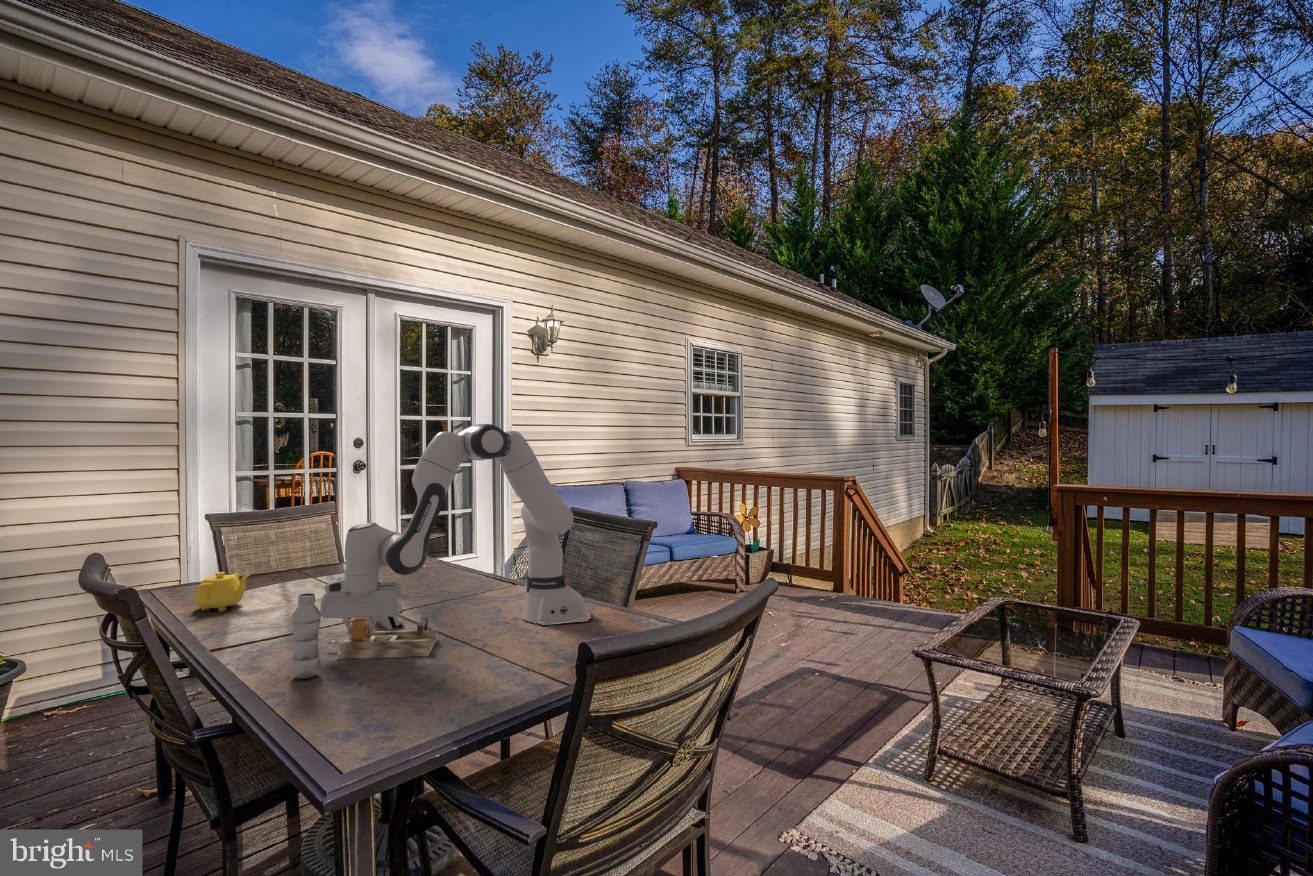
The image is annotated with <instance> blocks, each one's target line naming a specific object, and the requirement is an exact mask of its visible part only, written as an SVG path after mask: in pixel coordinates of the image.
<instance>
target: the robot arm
mask: <svg viewBox="0 0 1313 876" xmlns="http://www.w3.org/2000/svg"><path fill="white" fill-rule="evenodd" d="M494 459H495V460H497V461H498V464H500V467H501V468H502V470H503V473H504V475H505V477H506V478H507V480H508V482H509V484H510V486H511V487H512V491H513V492H514V493H515V495H516V497H518V498H519V499H520V501H521V502H522V503H523V505H522V507H521V511H520V516H521V520H522V521H523V524H524V531H525V538H526V544H527V553H528V555H527V557H528V558H527V560H528V562H527V563H528V564H527V574H526V578H525V579H526V581H525V591H526V598H525V605H524V609H523V613H522V616H521V618H523V619H524V620H527V621H529V622H528V623H530V622H537V623H539V624H552V623H558V622H567V621H571V620H574V619H579V618H581V617H585V615H586V611H585V609H586V604H585V601H584V600H585V599H584V597H583V596H582V595H581V594H580V593H579V592H577V591H576V590H575V589H574V588H572V587H571V586H570V585H569V584H570V583H571V578H570V577H569V576H568V575H567V574H564V573H563V559H564V558H563V553H564V552H563V548H562V546H561V542H560V539H559V535H562V534H564V533H566V532H568V531H569V530H570V529H571V527H572V525H573V523H574V513H573V511H572V510H571V508H570V507H569V506H568V505H567V503H565V501H564V500H563V499H562V497H561V495H560V494H559V492H557V490H556V488H555V487H554V486H553V484H552V483H551V482H550V480H549V479H548V477H547V476H546V474H545V472H544V469H543V468H542V466H541V464H540V462H539V460H538V458H537V456H536V454H535V452H534V450H533V449H532V447H531V446H530V444H529V442H528V441H527V440H526V438H525V437H524V436H523V435H522V433H520V432H519V431H516V430H509V431H504V430H502V429H501V428H500V427H499V426H497V425H495V424H491V423H484V424H483V423H476V424H472V425H469V426H466V427H464V428H462V429H460V430H459V431H458V432H452V431H447V430H446V431H440V432H438V433H436V435H434V436H433V438H432V439H431V440H430V442H429V443H428V445H427V447H426V448H425V449H424V451H422V454H421V456H420V458H419V459H418V462H417V464H416V466H415V468H414V471H413V474H412V478H411V484H412V486H413V489H414V490H415V493H416V497H417V504H416V507H415V510H414V512H413V513H412V517H411V519H410V521H409V523H408V525H407V529H406V530H405V531H404V532H403V533H401V532H398V531H393V530H390V529H388V528H385V527H383V526H381V525H380V524H378V523H377V522H372V521H371V522H362V523H359V524H356V525H352V526H351V527H350V528H349V529H348V531H347V532H346V536H345V543H344V544H345V545H344V560H345V568H344V571H343V572H344V575H343V576H342V577H338V578H334V579H333V580H331V581H329V582H328V583H326V584H325V586H324V592H325V593H324V594H323V596H322V597H321V602H320V609H319V611H320V614H321V618H322V619H342V620H343V621H342V622H343V624H344V625H345V627H346V628H347V634H348V635H350V634H352V622H351V620H352V619H353V618H354V619H356V618H362V617H370V618H371V617H372V618H371V622H372V623H371V624H370V625H369V627H367V630H368V631H367V633H374V631H376V630H375V629H376V625H377V623H378V622H377V621H378V620H379V617H395V616H397V617H398V615H399V614H400V613H401V612H402V601H401V596H402V594H403V593H402V591H403V588H402V585H400V583H397V582H395V581H391V582H386V581H381V582H380V575H381V574H380V573H381V572H380V569H381V568H382V567H387V568H389V569H391V570H392V571H393V572H394V573H395V574H398V575H400V576H401V575H402V576H407V575H412V574H415V573H416V572H418V571H420V569H421V568H423V566H424V564H425V563H426V559H427V555H428V546H429V540H430V537H431V534H432V532H433V530H434V527H435V525H436V523H437V520H438V518H439V515H440V513H441V511H442V507H443V504H444V503H445V502H444V501H445V499H446V497H447V492H448V491H449V489H450V486H451V484H452V483H453V480H454V478H455V476H456V474H457V472H458V470H459V467H460V466H461V464H462V463H463V462H464V461H465V460H467V461H468V460H469V461H470V460H471V461H485V460H494ZM523 619H522V620H523ZM524 620H523V621H524ZM527 621H526V622H527Z"/></svg>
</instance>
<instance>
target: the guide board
mask: <svg viewBox="0 0 1313 876" xmlns="http://www.w3.org/2000/svg"><path fill="white" fill-rule="evenodd" d="M372 635H398V640H394V641H390V640H386V641H362V642H352V634H349V640H351V642H341V643H339V650H338V652H337V653H336V660H353V659H352V658H354V659H355V658H359V659H378V658H379V659H380V658H381V659H382V658H383V659H384V658H407V657H408V658H411V657H413V656H415V657H429V656H430V653H431V652H432V650H433V648H434V647H435V645H436V642H437V641H438V633H437V629H428V630H423V636H418V637H417V629H412V630H411V629H410V630H375V631H374V633H370V637H371V636H372ZM434 644H435V645H434ZM433 646H434V647H433ZM342 658H343V659H342ZM345 658H346V659H345ZM347 658H348V659H347ZM350 658H351V659H350Z"/></svg>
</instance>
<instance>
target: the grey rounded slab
mask: <svg viewBox="0 0 1313 876" xmlns="http://www.w3.org/2000/svg"><path fill="white" fill-rule="evenodd" d="M370 619H372V617H370ZM377 623H378V624H380V625H381V626H383V627H384V628H385V629H386V628H387V629H386V630H388V629H390V630H392V629H393V628H394V627H398V626H402V628H405V623H404V621H403V620H402V619H400V618H398V615H397V616H395V617H379V620H378V621H377Z"/></svg>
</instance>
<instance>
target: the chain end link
mask: <svg viewBox="0 0 1313 876" xmlns="http://www.w3.org/2000/svg"><path fill="white" fill-rule="evenodd" d="M351 625H352V642H362V641H386V640H390V641H394V640H398V635H372V636H371V637H370V633H367V631H368V630H367V627H369V625H371V617H362V618H354V620H352V622H351ZM341 642H351V640H350V639H348V640H340V641H339V640H328V641H327V642H326V644H327V646H329V645H330V646H331V645H340V643H341Z"/></svg>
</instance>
